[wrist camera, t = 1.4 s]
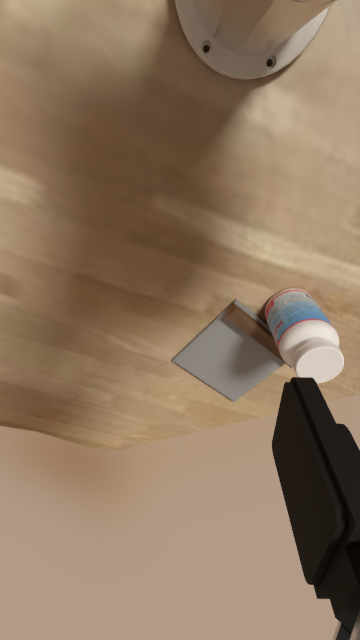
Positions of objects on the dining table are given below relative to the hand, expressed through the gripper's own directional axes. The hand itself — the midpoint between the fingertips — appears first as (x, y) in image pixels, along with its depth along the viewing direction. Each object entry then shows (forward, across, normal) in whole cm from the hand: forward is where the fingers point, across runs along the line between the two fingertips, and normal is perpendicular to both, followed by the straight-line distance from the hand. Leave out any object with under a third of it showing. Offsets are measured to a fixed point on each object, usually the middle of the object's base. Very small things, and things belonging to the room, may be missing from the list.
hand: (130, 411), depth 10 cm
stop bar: (+29, -12, +16) cm, 35 cm away
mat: (+29, -8, +20) cm, 36 cm away
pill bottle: (+29, -14, +13) cm, 35 cm away
